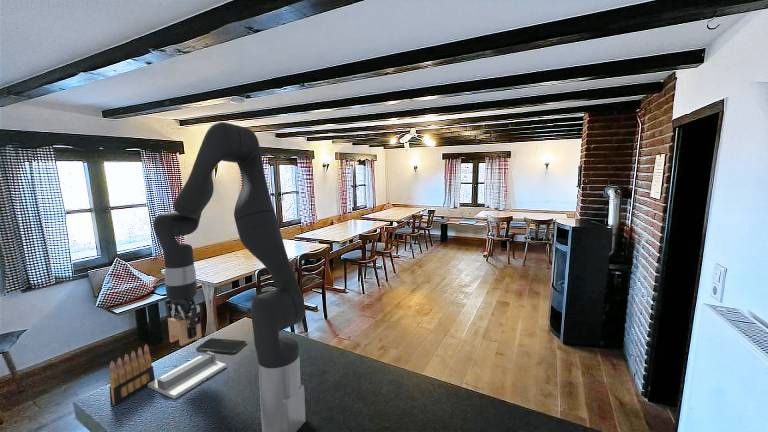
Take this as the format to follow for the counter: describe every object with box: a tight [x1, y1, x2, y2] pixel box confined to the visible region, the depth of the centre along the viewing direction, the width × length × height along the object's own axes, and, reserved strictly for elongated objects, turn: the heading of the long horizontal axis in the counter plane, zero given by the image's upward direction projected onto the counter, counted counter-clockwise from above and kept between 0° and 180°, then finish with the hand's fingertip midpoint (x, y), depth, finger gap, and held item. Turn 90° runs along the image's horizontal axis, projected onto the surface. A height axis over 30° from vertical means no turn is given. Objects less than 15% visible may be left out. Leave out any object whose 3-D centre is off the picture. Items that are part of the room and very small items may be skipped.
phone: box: [195, 337, 247, 356], centre depth 113 cm, size 8×1×15 cm
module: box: [167, 313, 202, 347], centre depth 94 cm, size 5×6×7 cm
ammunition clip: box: [109, 344, 156, 407], centre depth 88 cm, size 11×2×12 cm, turn 162°
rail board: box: [147, 351, 227, 400], centre depth 96 cm, size 12×16×4 cm
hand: (185, 335), depth 94 cm, fingers closed on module, 5 cm apart
